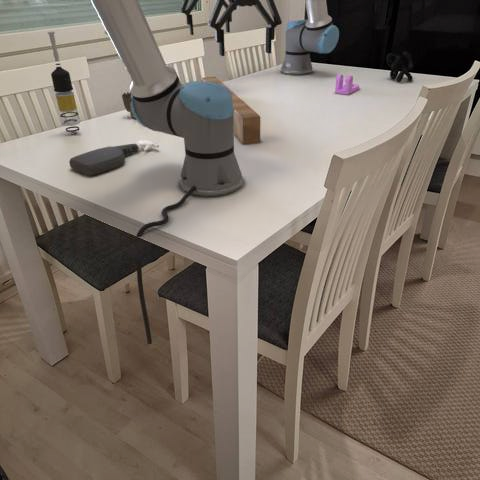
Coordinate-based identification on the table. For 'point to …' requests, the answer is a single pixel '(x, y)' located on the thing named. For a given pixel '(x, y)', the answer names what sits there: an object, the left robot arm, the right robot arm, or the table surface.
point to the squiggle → (399, 66)
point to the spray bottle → (106, 157)
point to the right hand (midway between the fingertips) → (210, 33)
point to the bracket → (348, 87)
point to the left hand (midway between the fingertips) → (245, 54)
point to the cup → (127, 102)
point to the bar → (242, 117)
